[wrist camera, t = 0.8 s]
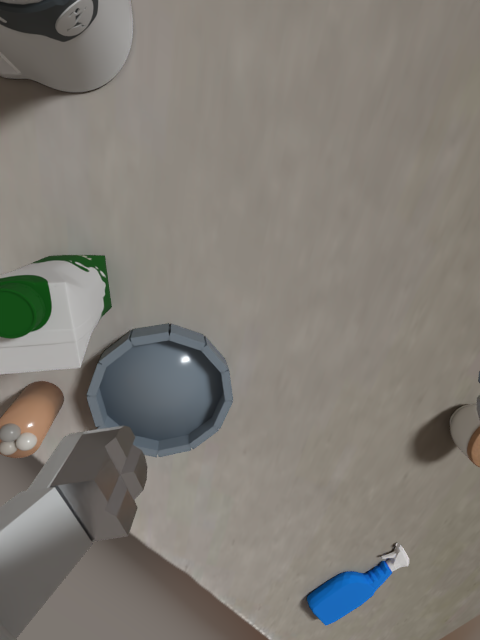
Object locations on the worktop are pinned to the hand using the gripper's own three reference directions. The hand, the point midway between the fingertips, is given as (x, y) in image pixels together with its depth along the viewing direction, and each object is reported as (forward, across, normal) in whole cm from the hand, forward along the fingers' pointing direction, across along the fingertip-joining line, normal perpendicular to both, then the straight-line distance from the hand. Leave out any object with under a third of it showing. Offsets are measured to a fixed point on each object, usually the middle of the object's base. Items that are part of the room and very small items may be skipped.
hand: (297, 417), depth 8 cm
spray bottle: (+39, -5, +84) cm, 92 cm away
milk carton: (+36, +25, +4) cm, 44 cm away
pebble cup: (+32, +36, +18) cm, 51 cm away
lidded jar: (+46, -31, +48) cm, 74 cm away
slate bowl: (+36, +20, +22) cm, 46 cm away
